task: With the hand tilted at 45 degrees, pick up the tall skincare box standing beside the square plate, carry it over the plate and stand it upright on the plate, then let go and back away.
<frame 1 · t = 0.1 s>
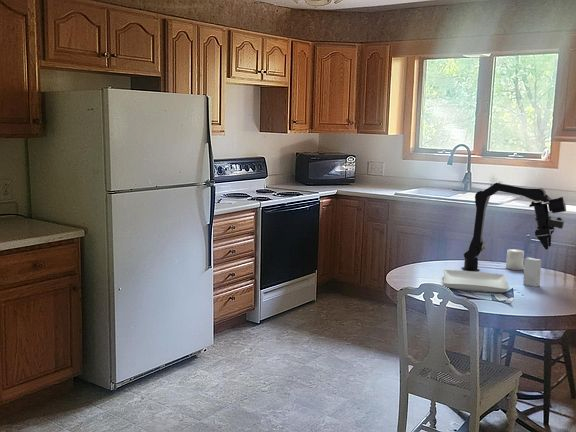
hand: (548, 247, 275), 15 cm above the table, tool pointing down, fingers open, 9 cm apart
skincare box: (531, 285, 268), on the table
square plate: (474, 286, 265), on the table
pale grey cylinder: (514, 268, 301), on the table
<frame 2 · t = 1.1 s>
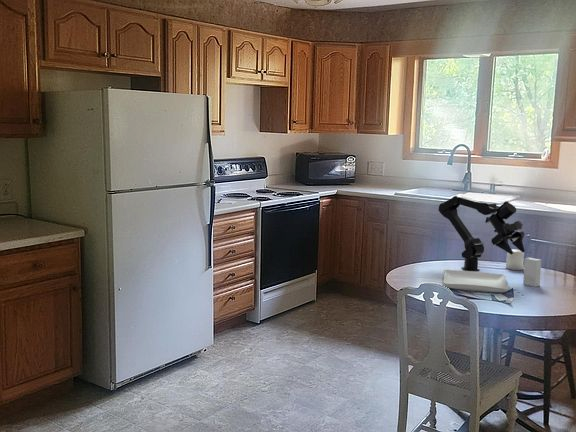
hand: (518, 253, 272), 13 cm above the table, tool tilted 45°, fingers open, 9 cm apart
nothing on the table moved.
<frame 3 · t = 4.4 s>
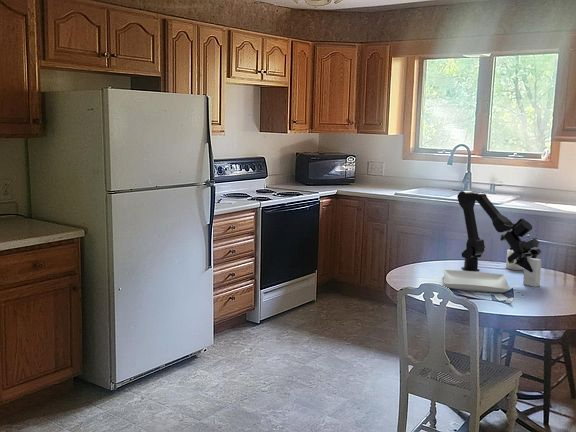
hand: (535, 271, 266), 7 cm above the table, tool tilted 45°, fingers closed on skincare box, 4 cm apart
skincare box: (531, 285, 268), on the table, touching gripper
everything else where it was.
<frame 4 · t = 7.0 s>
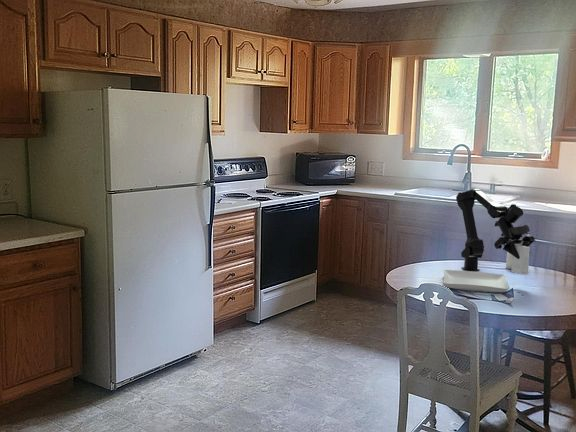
hand: (522, 258, 261), 13 cm above the table, tool tilted 45°, fingers closed on skincare box, 4 cm apart
skincare box: (519, 273, 263), point 6 cm above the table, touching gripper
everything else where it was.
when the fingers open (12 cm above the table, at t = 9.4 s): skincare box moves 1 cm, resting on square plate.
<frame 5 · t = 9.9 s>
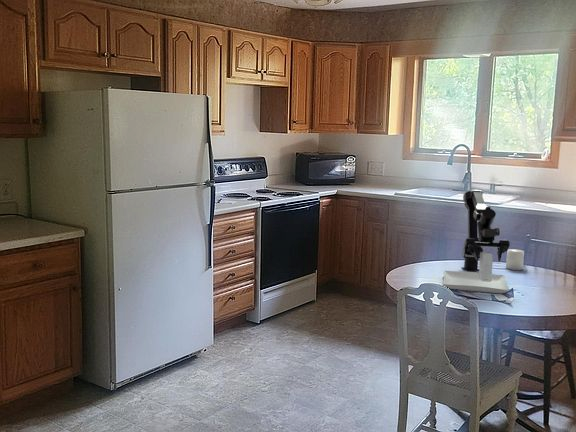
hand: (488, 260, 259), 12 cm above the table, tool tilted 45°, fingers open, 9 cm apart
skincare box: (484, 280, 262), point 3 cm above the table, touching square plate
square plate: (474, 287, 265), on the table, touching skincare box
everything else where it was.
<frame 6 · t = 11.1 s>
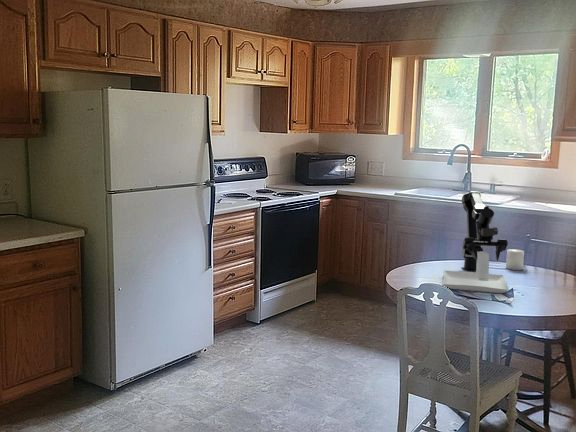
hand: (486, 259, 262), 12 cm above the table, tool tilted 45°, fingers open, 9 cm apart
skincare box: (481, 279, 263), point 3 cm above the table
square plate: (473, 287, 265), on the table
everything else where it was.
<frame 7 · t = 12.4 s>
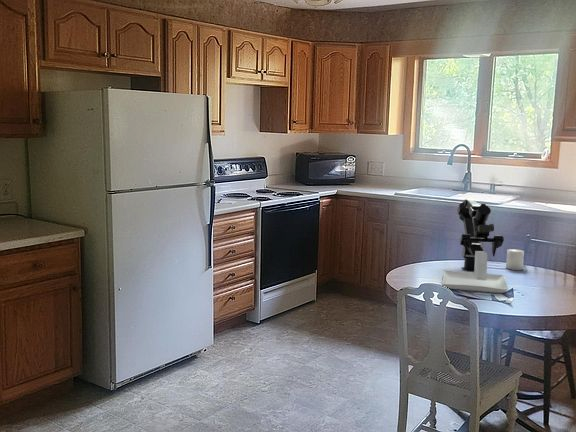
hand: (483, 255, 269), 12 cm above the table, tool tilted 45°, fingers open, 9 cm apart
skincare box: (479, 279, 263), point 3 cm above the table, touching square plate
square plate: (473, 287, 265), on the table, touching skincare box
everything else where it was.
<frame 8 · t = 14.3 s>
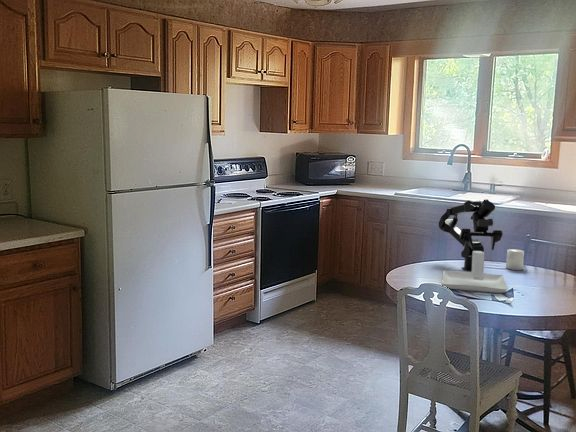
hand: (482, 249, 276), 14 cm above the table, tool tilted 45°, fingers open, 9 cm apart
skincare box: (476, 279, 264), point 3 cm above the table, touching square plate
everything else where it was.
at the end: skincare box inside the target area on the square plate (3.6 cm from its centre), point 3.9 cm above the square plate's base; skincare box tilted 0°; the gripper is holding nothing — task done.
